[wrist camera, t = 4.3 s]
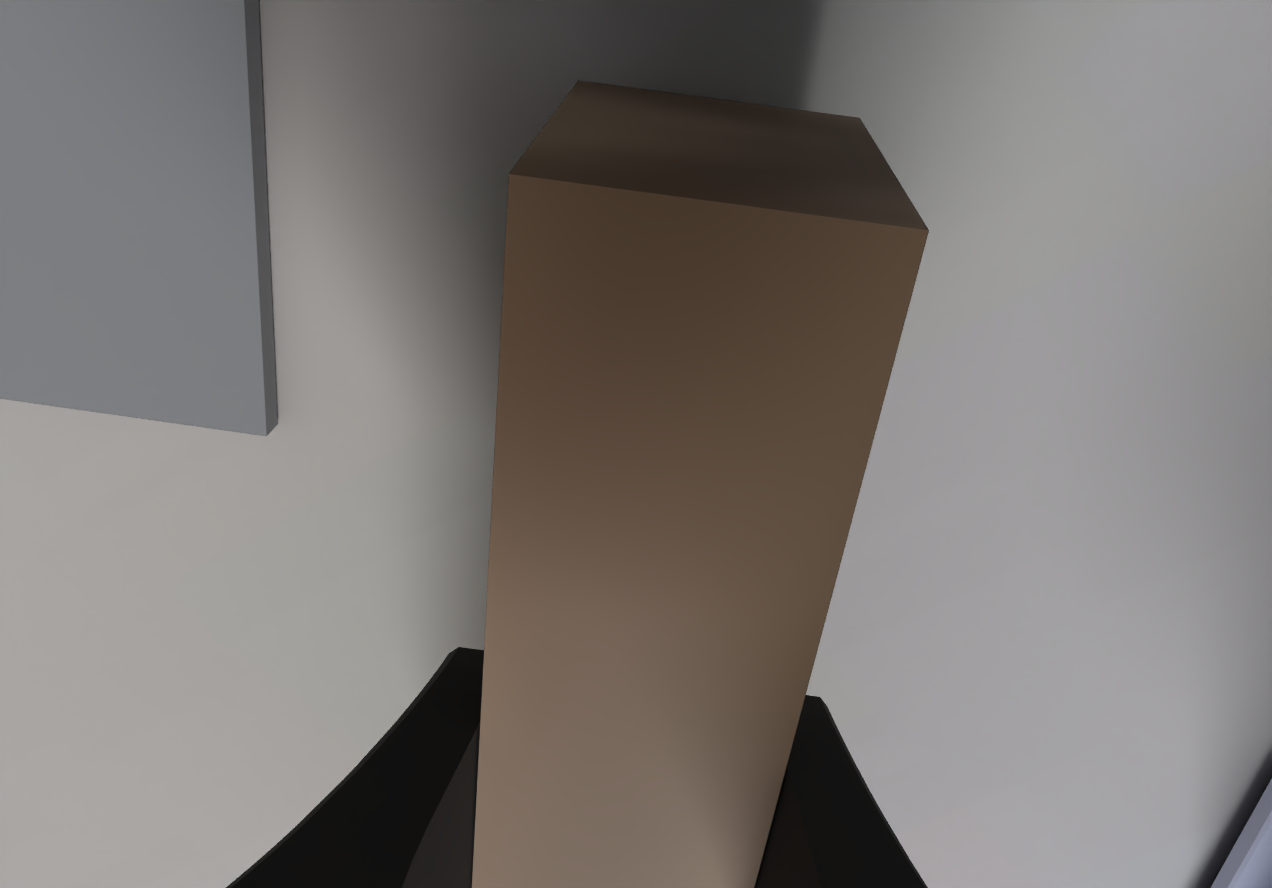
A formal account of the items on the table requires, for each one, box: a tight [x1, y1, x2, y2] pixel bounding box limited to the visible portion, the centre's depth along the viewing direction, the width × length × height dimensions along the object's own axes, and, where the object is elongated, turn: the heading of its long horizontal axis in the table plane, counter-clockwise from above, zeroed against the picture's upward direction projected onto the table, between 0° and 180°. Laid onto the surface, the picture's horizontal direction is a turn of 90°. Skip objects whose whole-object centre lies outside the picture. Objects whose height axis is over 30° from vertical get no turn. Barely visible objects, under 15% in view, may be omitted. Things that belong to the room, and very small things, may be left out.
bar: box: [472, 80, 929, 888], centre depth 12 cm, size 3×14×4 cm, turn 173°
